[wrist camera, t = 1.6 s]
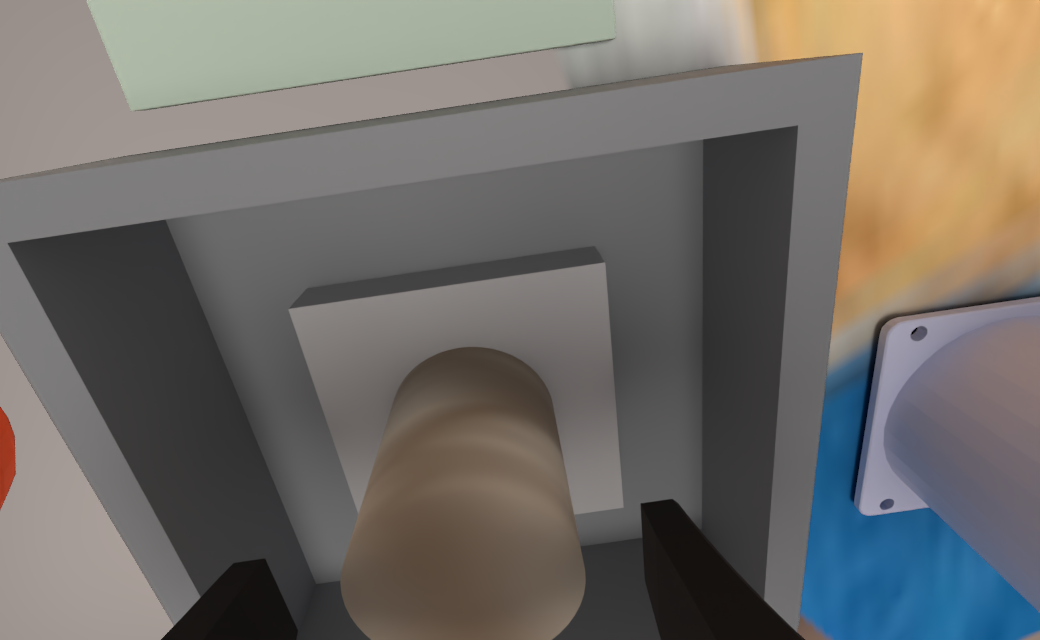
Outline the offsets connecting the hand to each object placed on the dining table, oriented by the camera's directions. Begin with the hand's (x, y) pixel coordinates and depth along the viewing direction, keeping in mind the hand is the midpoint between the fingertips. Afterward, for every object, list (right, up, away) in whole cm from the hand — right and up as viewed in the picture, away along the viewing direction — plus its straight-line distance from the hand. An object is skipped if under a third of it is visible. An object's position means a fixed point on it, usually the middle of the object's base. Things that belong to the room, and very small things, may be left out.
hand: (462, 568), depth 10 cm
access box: (0, +3, +7) cm, 8 cm away
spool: (0, +2, +5) cm, 5 cm away
